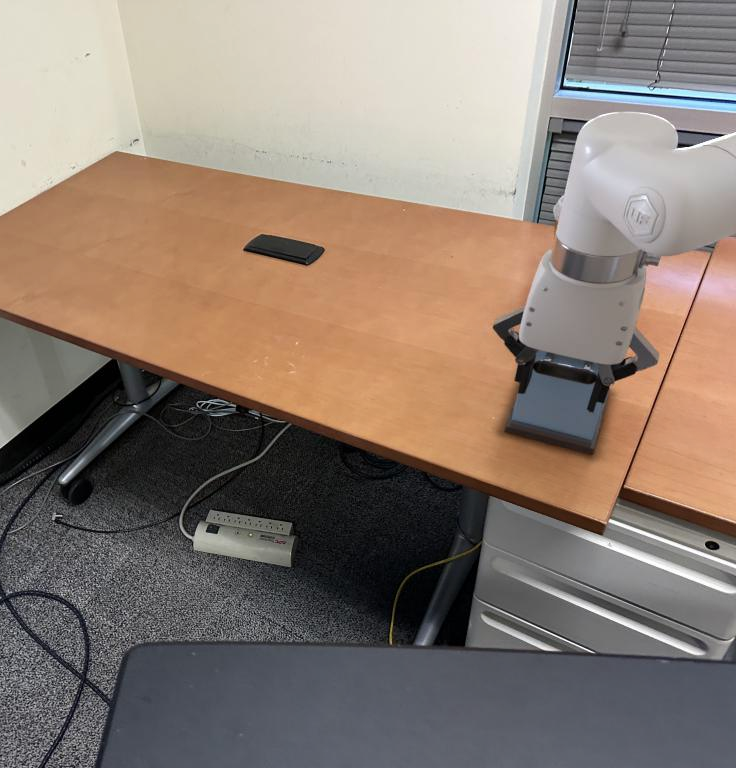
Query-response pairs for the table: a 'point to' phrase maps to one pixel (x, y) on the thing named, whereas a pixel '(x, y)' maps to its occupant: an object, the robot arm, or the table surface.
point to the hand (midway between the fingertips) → (557, 394)
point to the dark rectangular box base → (555, 434)
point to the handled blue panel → (559, 395)
